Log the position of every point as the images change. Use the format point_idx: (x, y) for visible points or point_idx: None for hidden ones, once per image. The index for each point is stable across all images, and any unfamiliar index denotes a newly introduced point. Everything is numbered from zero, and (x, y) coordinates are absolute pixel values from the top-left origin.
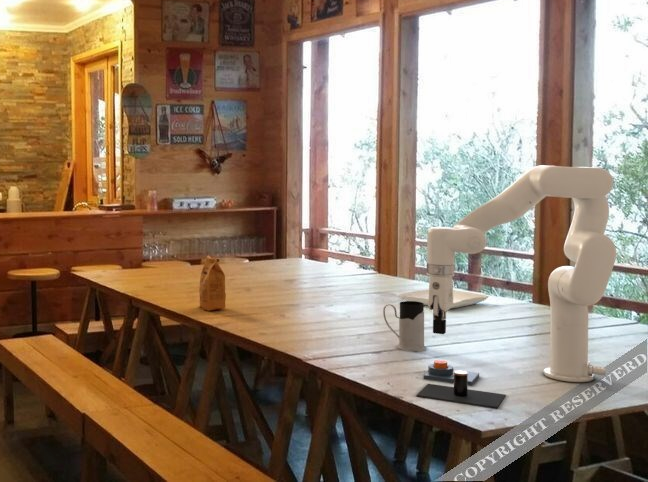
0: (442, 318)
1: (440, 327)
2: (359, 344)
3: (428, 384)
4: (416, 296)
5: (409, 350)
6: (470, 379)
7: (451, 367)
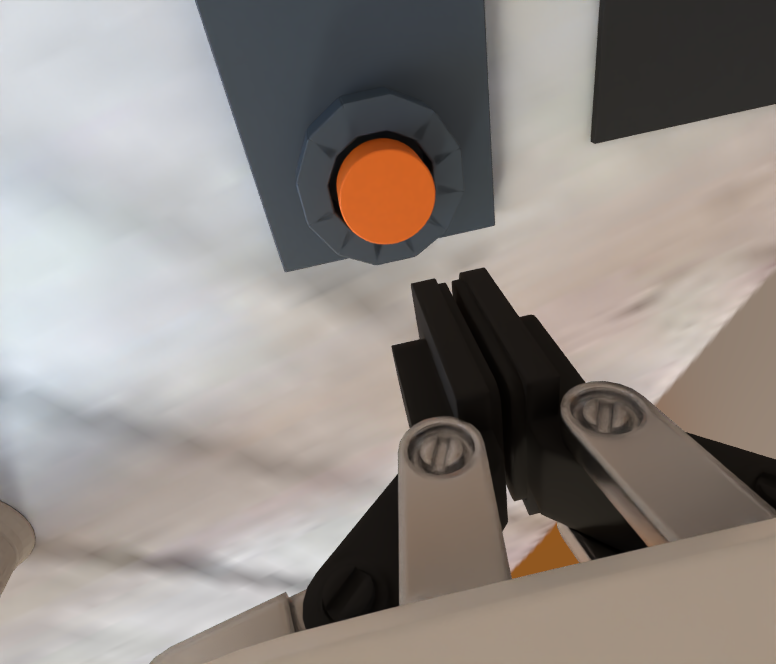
0: (658, 413)
1: (550, 342)
2: (134, 638)
3: (613, 132)
4: None
5: (17, 514)
6: None
7: (357, 111)
